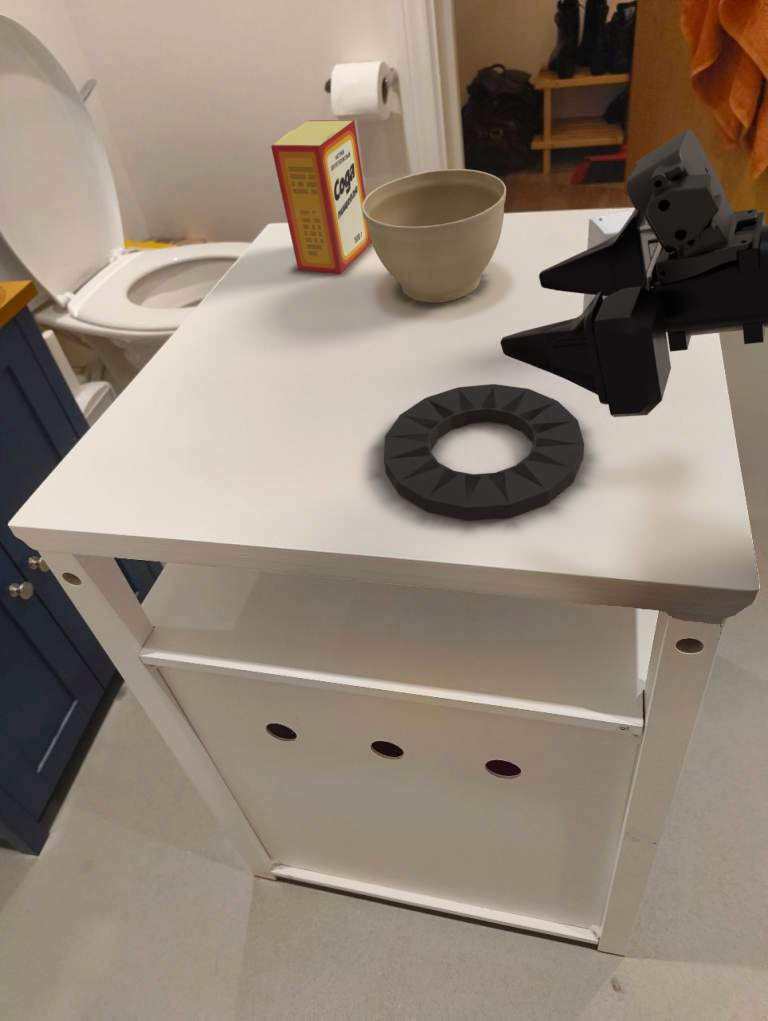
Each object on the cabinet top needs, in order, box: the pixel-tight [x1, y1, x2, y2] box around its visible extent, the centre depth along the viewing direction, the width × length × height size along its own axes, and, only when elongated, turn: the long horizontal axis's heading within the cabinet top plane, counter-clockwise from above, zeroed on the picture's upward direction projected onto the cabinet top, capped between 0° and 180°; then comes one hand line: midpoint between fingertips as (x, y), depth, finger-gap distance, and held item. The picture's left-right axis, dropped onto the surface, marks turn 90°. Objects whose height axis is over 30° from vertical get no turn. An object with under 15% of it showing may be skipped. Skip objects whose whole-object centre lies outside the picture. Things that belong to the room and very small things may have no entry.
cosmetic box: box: [582, 210, 634, 312], centre depth 73 cm, size 6×4×12 cm
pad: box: [383, 383, 585, 522], centre depth 65 cm, size 17×17×2 cm
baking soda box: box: [270, 119, 372, 275], centre depth 95 cm, size 10×6×16 cm
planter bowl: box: [362, 168, 507, 303], centre depth 86 cm, size 16×16×11 cm
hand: (522, 311), depth 50 cm, fingers open, 9 cm apart
